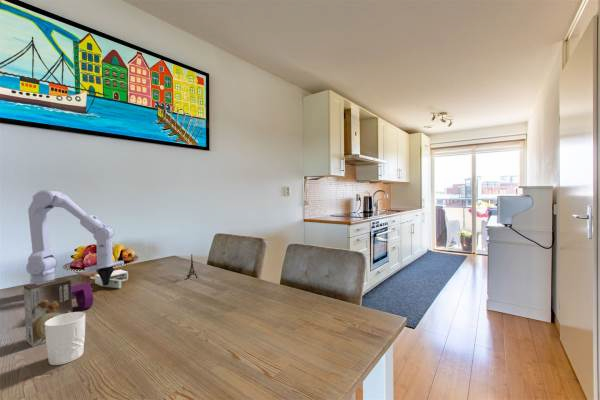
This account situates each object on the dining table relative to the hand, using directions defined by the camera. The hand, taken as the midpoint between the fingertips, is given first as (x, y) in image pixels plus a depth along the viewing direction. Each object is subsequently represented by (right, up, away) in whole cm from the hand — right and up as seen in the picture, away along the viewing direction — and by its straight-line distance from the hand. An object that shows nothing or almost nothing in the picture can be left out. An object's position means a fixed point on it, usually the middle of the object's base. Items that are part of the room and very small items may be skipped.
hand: (105, 284), depth 120 cm
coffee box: (+13, -3, -41) cm, 43 cm away
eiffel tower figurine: (+32, -2, +15) cm, 36 cm away
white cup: (+27, -3, -51) cm, 58 cm away
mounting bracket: (0, -3, -21) cm, 21 cm away
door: (+1, -2, +2) cm, 3 cm away
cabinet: (-4, -2, +10) cm, 11 cm away
